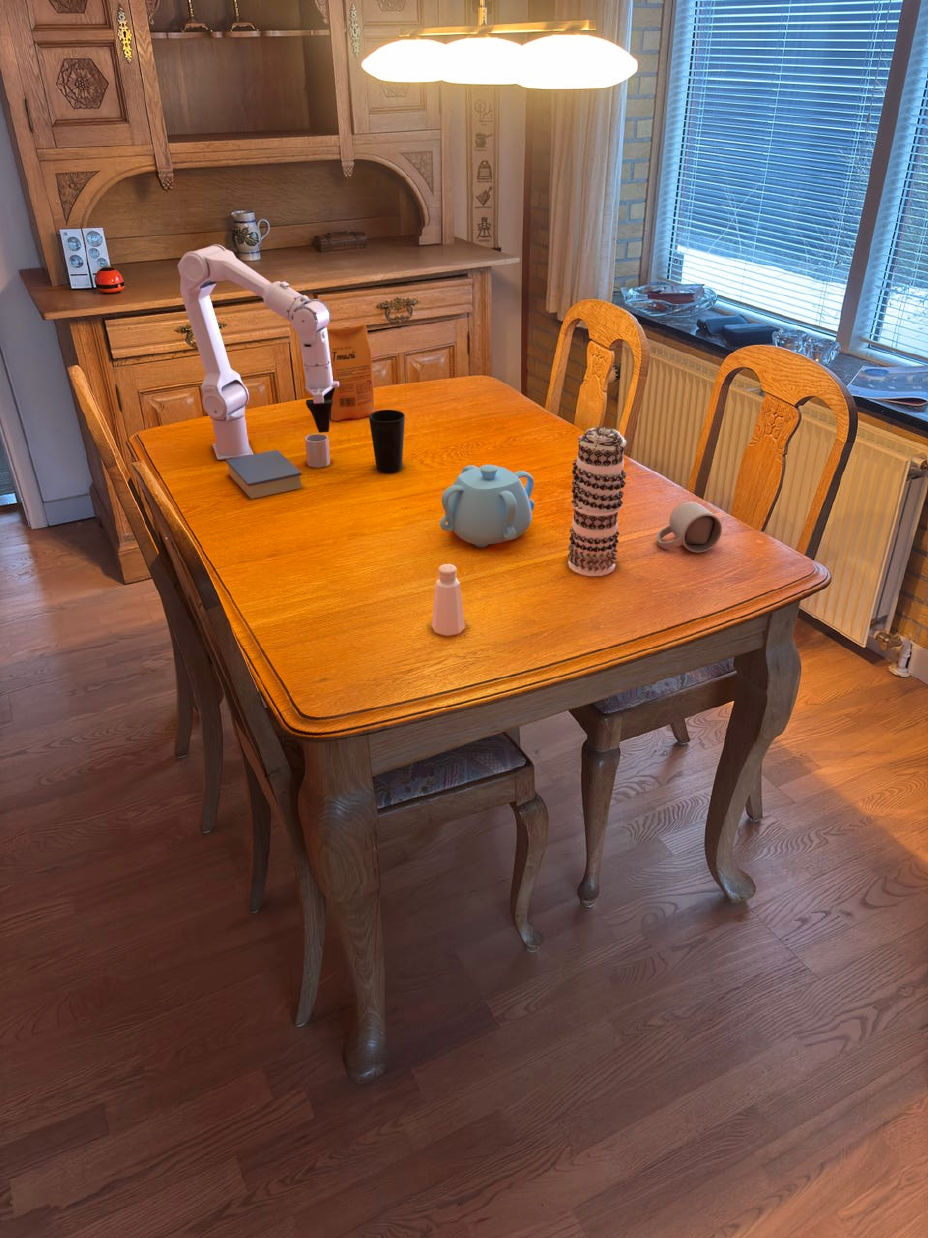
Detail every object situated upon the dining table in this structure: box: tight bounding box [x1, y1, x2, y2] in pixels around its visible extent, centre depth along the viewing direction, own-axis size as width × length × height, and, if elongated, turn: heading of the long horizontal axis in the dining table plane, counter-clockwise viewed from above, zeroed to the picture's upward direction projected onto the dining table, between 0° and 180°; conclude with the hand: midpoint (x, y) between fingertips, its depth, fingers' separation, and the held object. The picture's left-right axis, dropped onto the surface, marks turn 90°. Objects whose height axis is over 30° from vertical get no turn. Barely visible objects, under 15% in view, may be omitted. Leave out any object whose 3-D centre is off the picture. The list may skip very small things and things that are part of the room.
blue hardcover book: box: [225, 449, 303, 500], centre depth 197 cm, size 15×12×4 cm
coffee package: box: [325, 322, 376, 422], centre depth 228 cm, size 10×12×22 cm
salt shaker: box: [431, 563, 466, 637], centre depth 146 cm, size 5×5×11 cm
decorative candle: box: [567, 426, 628, 577], centre depth 160 cm, size 9×9×25 cm
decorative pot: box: [439, 464, 536, 548], centre depth 174 cm, size 16×16×14 cm
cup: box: [368, 409, 406, 474], centre depth 201 cm, size 8×8×12 cm
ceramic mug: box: [656, 500, 723, 554], centre depth 172 cm, size 11×8×8 cm
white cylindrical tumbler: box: [304, 433, 331, 469], centre depth 205 cm, size 5×5×6 cm
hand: (324, 425), depth 199 cm, fingers open, 7 cm apart
